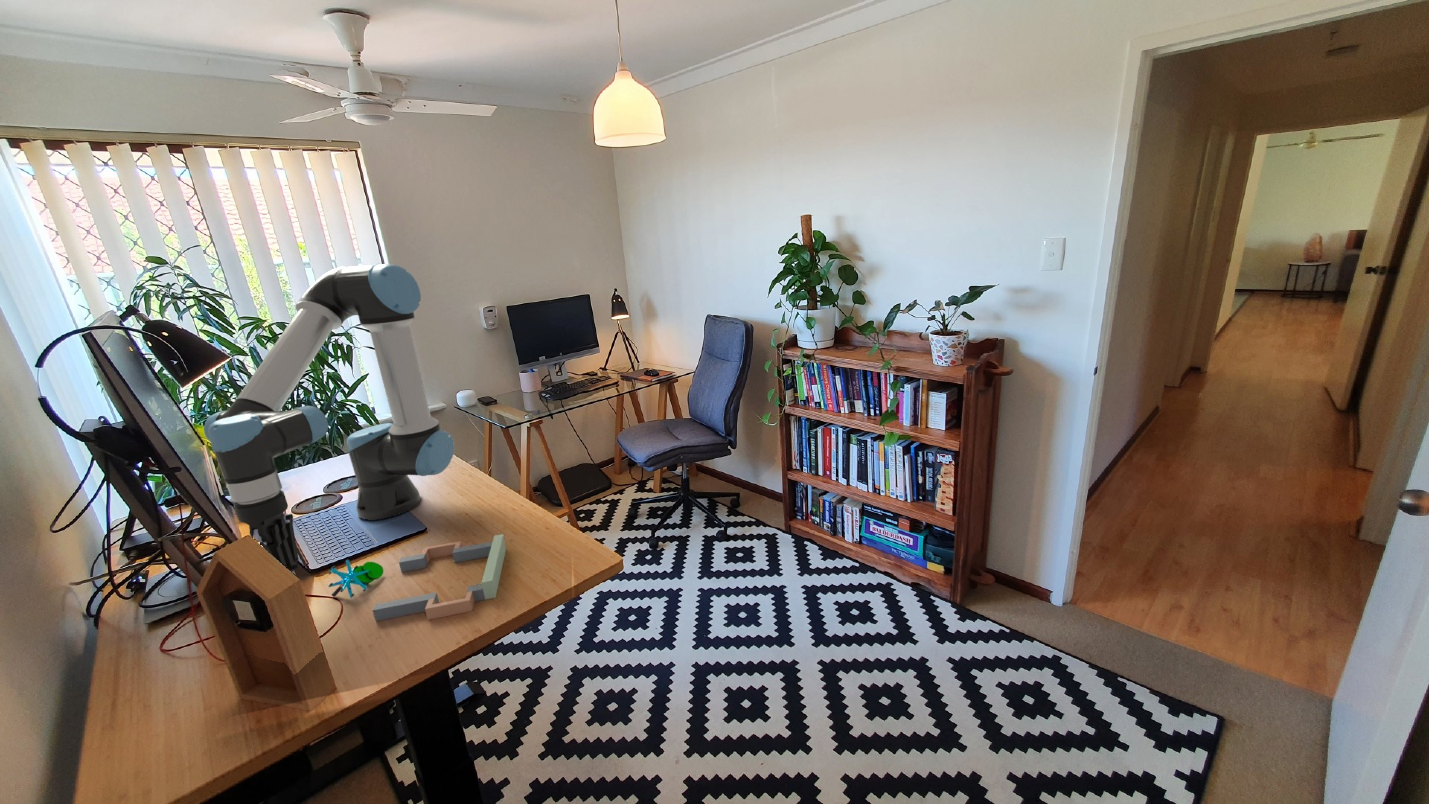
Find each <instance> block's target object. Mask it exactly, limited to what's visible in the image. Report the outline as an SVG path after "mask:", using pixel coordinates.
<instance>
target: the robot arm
mask: <svg viewBox="0 0 1429 804" xmlns="http://www.w3.org/2000/svg"><path fill="white" fill-rule="evenodd" d="M421 295H422V294H421V290H420V287H419V285H418V282H417V281H416V279H415V277H414V276H413V275H412V273H410V272H408V271H407V269H405V268H404V267H402V266H400V265H397V264H390V263H389V264H388V263H376V264H367V265H366V264H365V265H353V266H350V265H348V266H339V267H337V268H334V269H331V270H329V271H328V272H327V271H326V273H324V274H323V275H322V276H320V277H319V278H317V280H316V281H314V283H312V284H310V286H309V287H308V288H307V290H306V291H305V292H304V293H303V295H302V296H301V297H300V298H299V300H298V301H297V303H296V304H295V310H296V313H295V315H294V317H293V318H292V319H291V321H290V322H289V323H288V325H287V326H286V327H285V329H284V330H283V332H282V334H280V336H279V337H278V339H277V340H276V342H275V343H274V344H273V346H272V347H271V349H270V350H269V352H268V353H267V354H266V356H265V357H264V359H263V360H262V362H261V363H260V365H259V366H258V367H257V368H256V370H255V372H254V373H253V375H251V377H250V379H249V380H248V381H247V383H246V384H245V386H244V387H243V388H242V390H241V391H240V393H239V394H238V396H237V397H236V399H235V400H234V401H233V403H232V404H231V405H230V407H229V409H227V410H222V411H218V412H215V413H214V414H212V415H210V416H209V417H208V418H207V419H206V421H205V423H204V425H203V426H204V427H203V432H204V436H205V437H206V439H207V441H208V442H209V443H210V444H211V449H212V451H213V453H214V455H215V458H216V460H217V463H218V466H219V470H220V473H221V474H222V476H223V480H224V482H225V487H226V489H227V490H228V493H229V496H230V499H231V501H232V502H233V503H234V504H233V509H234V512H235V514H236V517H237V520H238V521H239V522H240V523H242V524H246V525H248V528H249V536H250V537H251V538H252V537H254V538H255V539H257V541H258V542H260V545H262V546H263V547H264V548H265V549H266V550H267V551H268V552H269V553H271V554H272V555H273V556H275V557H276V558H277V559H278V560H279V561H280V562H282V563H283V564H284V565H286V567H288V568H289V570H290V571H292V573H294V574H295V575H296V572H295V570H297V569H299V568H300V564H299V563H298V562H299V555H298V548H297V542H296V536H295V531H294V515H293V513H288V514H286V513H284V512H286V510H288V507H289V505H288V502H287V498H286V495H285V492H284V490H282V489H283V485H282V482H281V479H280V477H279V473H278V471H277V467H276V463H275V459H274V458H277V457H280V456H282V455H285V454H287V453H289V452H292V451H294V450H297V449H299V448H303V447H304V446H308V445H311V444H314V442H316V441H318V440H320V439H322V438H323V437H325V436H326V435H327V433H328V430H329V423H328V419H327V417H326V415H325V414H324V412H323V411H321V409H319V408H317V407H316V406H313V405H304V406H300V407H294V408H292V409H291V410H286V411H285V410H284V411H283V410H282V408H283V407H284V405H285V404H286V402H287V401H288V399H289V398H290V395H291V394H292V393H293V391H294V389H295V388H296V386H297V385H298V383H299V382H300V380H301V379H302V378H303V376H304V375H305V372H306V371H307V370H308V369H309V367H310V365H311V363H312V362H313V361H314V359H315V357H316V356H317V355H318V353H319V351H320V349H321V348H322V346H323V345H324V344H325V342H326V341H327V339H328V337H329V335H330V334H331V332H332V331H333V330H337V329H340V328H341V326H342V325H343V323H344V322H345V321H346V320H347V319H349V318H351V317H353V316H358V319H359V323H360V326H362V327H363V328H365V329H367V330H368V331H369V332H370V336H371V340H372V344H373V348H374V353H375V356H376V359H377V360H376V361H377V364H378V367H379V372H380V375H381V379H382V383H383V388H384V390H385V394H386V395H385V396H386V398H387V399H386V400H387V403H388V407H389V411H390V414H391V419H392V422H385V423H380V424H375V425H373V426H369V427H365V428H362V429H360V430H357V431H354V432H353V433H351V434H349V436H348V437H347V439H346V445H347V452H348V456H349V459H350V462H351V466H352V469H353V473H354V475H355V479H356V482H357V486H358V491H357V501H356V512H357V516H358V517H359V518H360V519H361V518H362V520H365V519H368V520H367V521H377V519H378V520H383V519H384V518H385V519H387V518H388V517H389V518H391V517H390V516H393V517H395V516H398V514H399V513H402V514H404V513H407V512H409V511H410V510H412V509H413V508H415V507H417V506H418V505H419V504H420V502H421V495H420V491H419V490H418V488H417V487H416V486H415V484H414V483H413V481H412V480H411V478H410V477H409V476H420V477H427V476H435V475H439V474H441V473H443V472H444V471H445V470H446V469H447V468H448V466H450V464H451V461H452V459H453V458H454V453H455V442H454V439H453V437H452V435H451V434H450V433H449V432H447V431H445V430H441V427H440V423H439V420H438V419H437V418H435V417H433V416H432V415H431V411H430V407H429V404H428V400H427V399H428V398H427V395H426V391H425V387H424V382H423V379H422V374H421V373H422V372H421V368H420V365H419V361H418V356H417V352H416V349H415V343H414V339H413V336H412V335H413V334H412V331H411V325H412V323H413V321H414V320H415V313H414V312H415V311H416V310H417V309H418V308H419V307H420V302H421V300H422V299H421V298H422V296H421ZM281 410H282V411H281ZM399 515H400V514H399ZM295 563H297V564H295Z"/></svg>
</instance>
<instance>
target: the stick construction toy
mask: <svg viewBox="0 0 1429 804" xmlns="http://www.w3.org/2000/svg"><path fill="white" fill-rule="evenodd" d="M344 564H346V568H347V572H343V571H339V570H338V569H337V568H336V565H334V564H333V566H332V567H331V568H330V569H331V570H330V571H329V572H328V575H331V574H334V575H338V577H339V578H340V579H341V580H339V581H337V582H334V583H333V582H331V583H330V584H329V585H328V588H332V587H335V586H338V587H337V588H336V589H335V590H334V591H333V592H332V594H331V597H333V598H334V597H336V596H337V595H338V594H339V593H343V592H344V590H346V589H347V592H348V595H349V598H353V597H354V596H355V593H353V590H352V587H351V584H352V585H356V586H360V587H361V588H362V589H363V590H362V591H363V592H365V591H367V589H368V587H367V586H368V585H369V584H370V583H371V584H372V583H373V582H374V580H375V581H376V580H378V579H380V578H381V577H382V576H383V574H384V568H383V566H382V565H381V564H380V563H378V562H374V561H367V562H364V564H362V565H359V566H358V565H355V566H354V567H353V569H352V567H351V563H350V560H349V559H346V560H345V561H344Z"/></svg>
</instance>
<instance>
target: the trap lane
mask: <svg viewBox="0 0 1429 804" xmlns="http://www.w3.org/2000/svg"><path fill="white" fill-rule="evenodd" d="M506 551H507V546H506V541H505V535H504V533H501V534H495V535H493V539H492V541H488V542H484V543H483V542H482V543H478V544H471V545H467V546H463V543H462V541H461V540H460V541H454V542H448V543H442V544H437V545H431V546H426V547H423V550H422V552H421V553H420V554H415V555H409V556H405V557H404V556H403V557H401V558H400V559H399V561H398V563H399V568H400V572H401V573H404V572H410V571H416V570H422V569H425V568H427V566H428V564H429V561H430V560H431V559H435V558H440V557H445V556H449V555H450V556H451V555H452V557H453V562H454V563H460V562H465V561H471V560H476V559H481V558H487V561H486V564H485V568H484V572H483V576H482V578H481V579H482V580H481V583H480V584H474V585H473V584H472V585H469V586H468V587H467V591H466V595H465V598H458V599H453V600H449V601H444V602H443V601H442V602H440V601H439V596H438V592H431V593H426V594H421V595H420V594H419V595H415V596H411V597H406V598H400V599H394V600H390V601H384V602H380V603H375V605H374V607H373V609H372V612H373V617H374V620H375V622H379V621H384V620H385V621H386V620H389V619H390V620H391V619H393V618H399V617H403V616H410V615H414V614H419V613H420V614H421V613H425V614H426V619H427V621H430V620H435V619H439V618H444V617H449V616H454V615H459V614H464V613H469V612H472V611H473V609H474V605H475V602H481V601H486V600H490V599H495V598H496V597H497V592H498V589H499V584H500V580H501V574H502V572H503V571H502V570H503V565H504V560H505V557H506Z"/></svg>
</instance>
